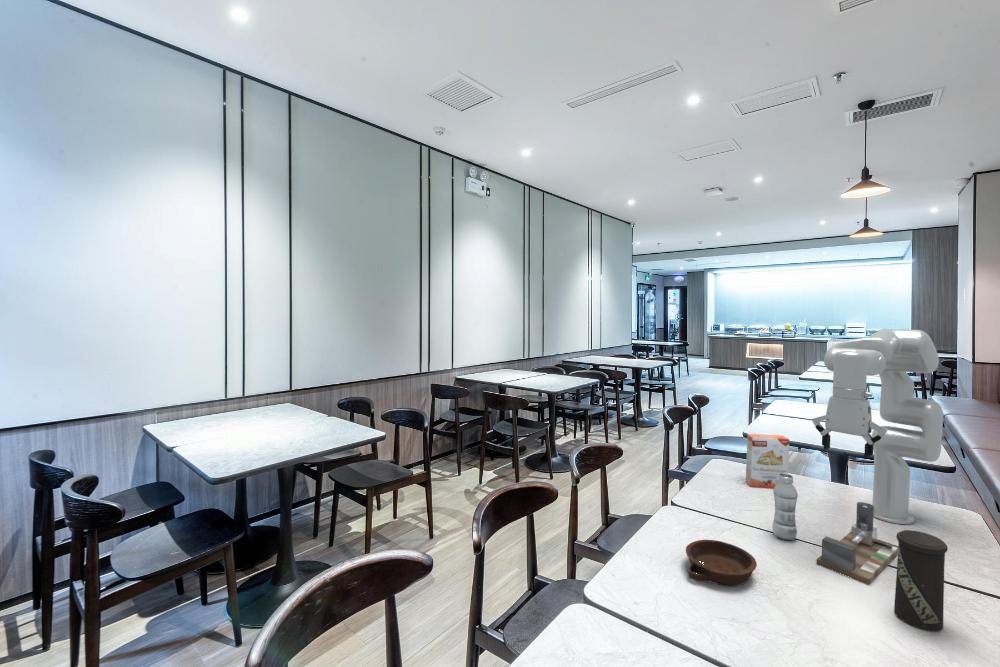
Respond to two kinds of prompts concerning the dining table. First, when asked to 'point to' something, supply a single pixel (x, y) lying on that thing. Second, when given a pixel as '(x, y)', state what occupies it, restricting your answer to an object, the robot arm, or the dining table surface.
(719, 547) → the dish
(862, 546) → the gauge base
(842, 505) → the dining table surface
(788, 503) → the plastic bottle
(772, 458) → the cracker box
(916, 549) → the container
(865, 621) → the dining table surface
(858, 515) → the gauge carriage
